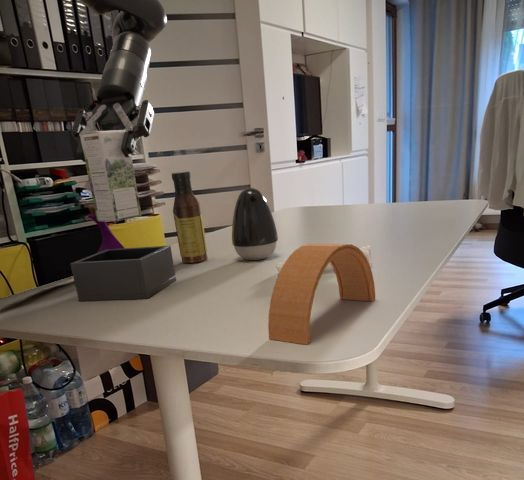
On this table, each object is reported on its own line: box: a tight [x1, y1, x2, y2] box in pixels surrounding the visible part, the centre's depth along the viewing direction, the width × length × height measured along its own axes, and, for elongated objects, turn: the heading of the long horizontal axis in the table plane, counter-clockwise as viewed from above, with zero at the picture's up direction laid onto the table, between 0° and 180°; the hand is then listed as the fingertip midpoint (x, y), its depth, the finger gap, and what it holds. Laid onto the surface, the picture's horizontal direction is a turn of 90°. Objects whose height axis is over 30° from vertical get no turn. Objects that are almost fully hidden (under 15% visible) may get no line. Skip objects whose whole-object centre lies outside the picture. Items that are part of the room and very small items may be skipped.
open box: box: [69, 245, 177, 302], centre depth 98 cm, size 14×13×7 cm
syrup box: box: [80, 129, 142, 222], centre depth 90 cm, size 6×6×14 cm
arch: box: [267, 243, 376, 345], centre depth 70 cm, size 6×20×10 cm, turn 144°
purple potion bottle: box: [87, 204, 125, 253], centre depth 115 cm, size 8×8×18 cm
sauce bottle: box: [171, 170, 208, 264], centre depth 118 cm, size 7×6×20 cm
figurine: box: [275, 243, 373, 273], centre depth 98 cm, size 17×5×18 cm
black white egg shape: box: [231, 187, 279, 261], centre depth 115 cm, size 10×10×15 cm
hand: (103, 156), depth 87 cm, fingers closed on syrup box, 7 cm apart
